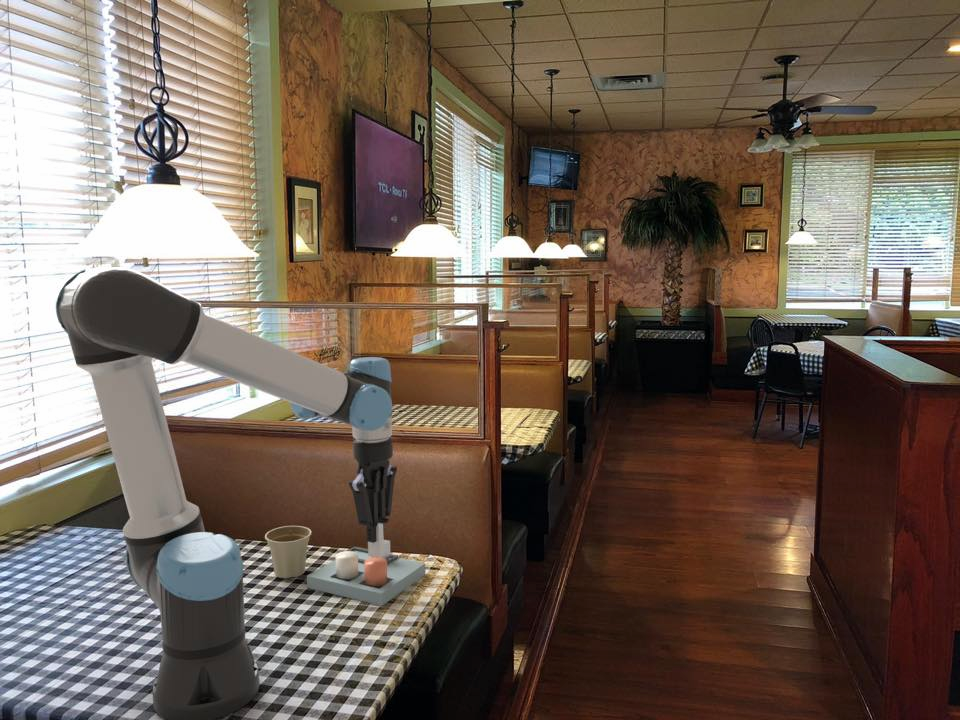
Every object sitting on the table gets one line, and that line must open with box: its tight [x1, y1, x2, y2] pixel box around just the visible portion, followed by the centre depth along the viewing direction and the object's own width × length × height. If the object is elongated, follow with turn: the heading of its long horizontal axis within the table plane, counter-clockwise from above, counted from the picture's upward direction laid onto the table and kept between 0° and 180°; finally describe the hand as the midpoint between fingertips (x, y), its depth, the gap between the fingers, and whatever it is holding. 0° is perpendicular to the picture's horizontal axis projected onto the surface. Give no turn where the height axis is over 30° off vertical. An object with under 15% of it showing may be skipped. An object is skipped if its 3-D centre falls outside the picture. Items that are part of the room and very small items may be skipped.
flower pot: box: [264, 525, 312, 580], centre depth 156 cm, size 9×9×9 cm
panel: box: [306, 546, 426, 607], centre depth 152 cm, size 16×18×3 cm
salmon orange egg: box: [364, 557, 387, 587], centre depth 146 cm, size 4×4×4 cm
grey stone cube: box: [372, 539, 391, 561], centre depth 156 cm, size 3×3×4 cm
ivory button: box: [335, 550, 358, 579], centre depth 149 cm, size 4×4×4 cm
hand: (376, 555), depth 146 cm, fingers closed
